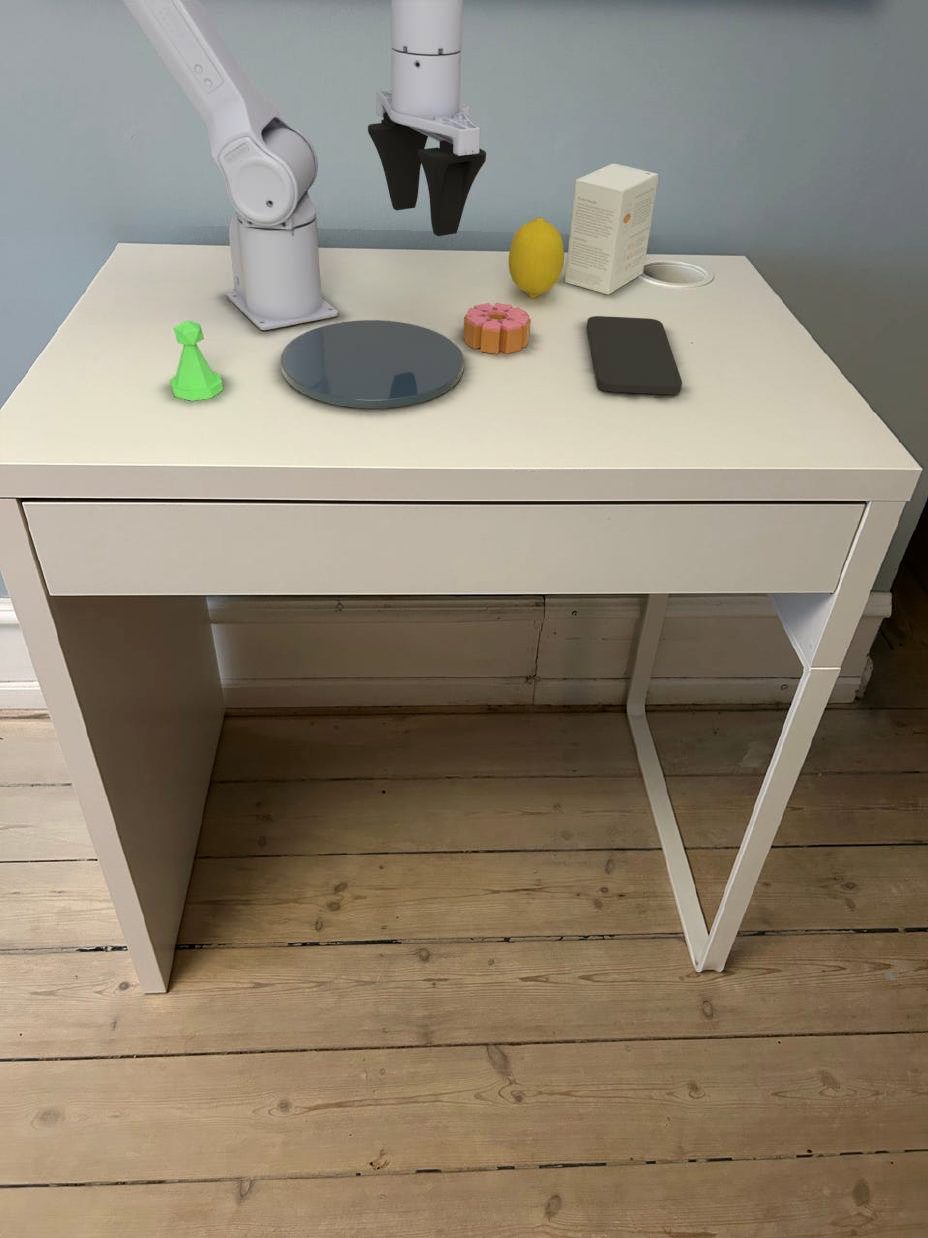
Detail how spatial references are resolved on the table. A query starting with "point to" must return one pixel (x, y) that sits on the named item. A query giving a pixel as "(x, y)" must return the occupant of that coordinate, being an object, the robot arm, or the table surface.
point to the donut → (496, 328)
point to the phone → (632, 355)
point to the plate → (372, 364)
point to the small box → (610, 227)
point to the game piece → (193, 367)
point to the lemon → (536, 257)
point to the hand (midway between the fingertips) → (424, 220)
